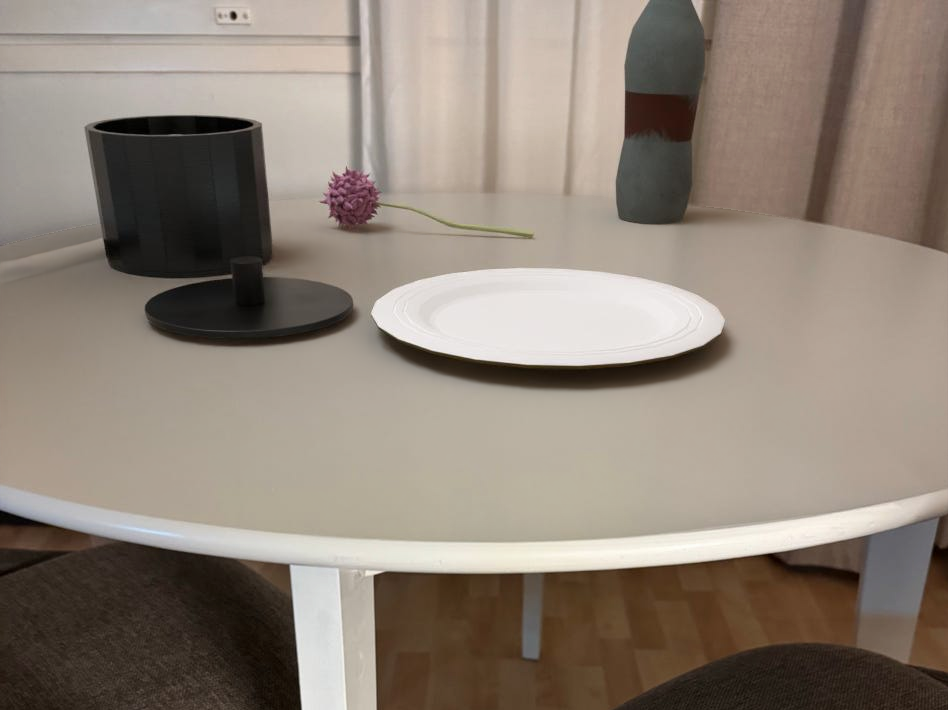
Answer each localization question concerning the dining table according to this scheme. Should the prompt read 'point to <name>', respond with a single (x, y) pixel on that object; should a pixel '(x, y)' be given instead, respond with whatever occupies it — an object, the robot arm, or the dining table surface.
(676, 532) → the dining table surface
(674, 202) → the bottle
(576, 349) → the plate
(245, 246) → the trash can
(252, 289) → the bin lid
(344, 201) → the artificial flower
